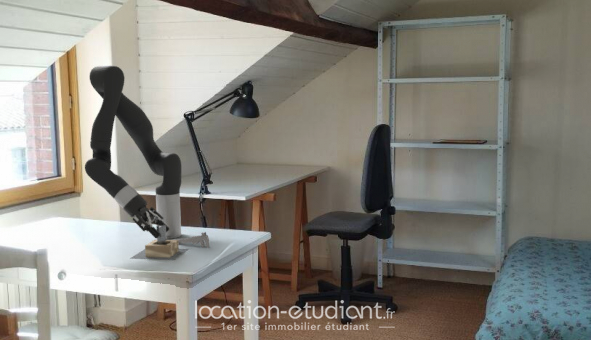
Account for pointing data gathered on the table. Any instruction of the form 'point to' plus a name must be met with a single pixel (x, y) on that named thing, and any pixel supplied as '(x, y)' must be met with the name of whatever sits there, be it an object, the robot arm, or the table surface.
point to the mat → (143, 256)
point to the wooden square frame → (161, 249)
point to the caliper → (196, 240)
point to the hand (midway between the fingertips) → (163, 233)
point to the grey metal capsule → (161, 235)
